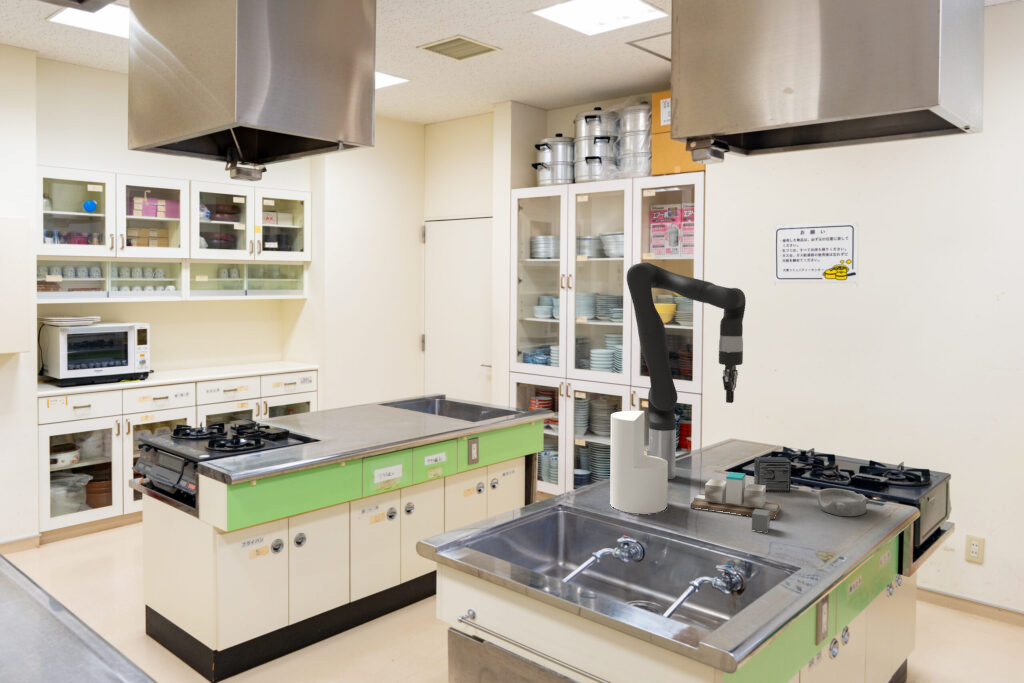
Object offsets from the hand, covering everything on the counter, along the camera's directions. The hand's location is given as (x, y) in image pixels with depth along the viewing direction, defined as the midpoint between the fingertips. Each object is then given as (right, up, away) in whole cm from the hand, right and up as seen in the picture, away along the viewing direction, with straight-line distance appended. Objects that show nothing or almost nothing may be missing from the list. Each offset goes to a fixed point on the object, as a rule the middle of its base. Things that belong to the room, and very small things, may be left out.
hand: (729, 402), depth 246 cm
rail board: (-4, -31, -18) cm, 36 cm away
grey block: (-2, -32, -37) cm, 49 cm away
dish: (+28, -31, -20) cm, 46 cm away
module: (-4, -28, -18) cm, 34 cm away
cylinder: (-32, -31, -15) cm, 47 cm away
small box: (+14, -29, +2) cm, 33 cm away
